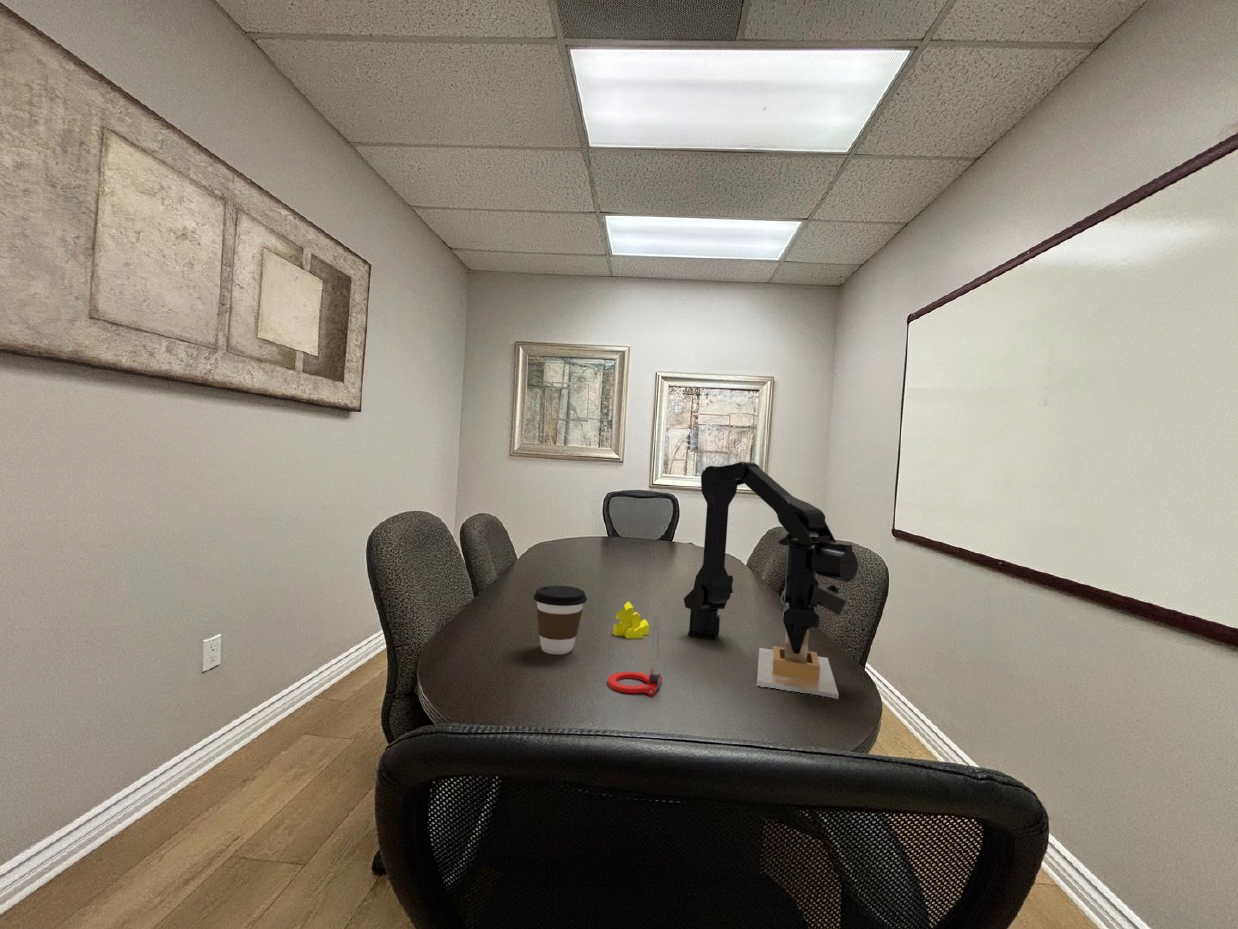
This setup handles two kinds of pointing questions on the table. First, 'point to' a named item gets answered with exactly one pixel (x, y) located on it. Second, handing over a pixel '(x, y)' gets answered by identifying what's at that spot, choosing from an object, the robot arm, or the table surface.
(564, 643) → the coffee cup
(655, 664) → the tow hook
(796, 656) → the cream upright block
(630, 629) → the yellow blocky cluster
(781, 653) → the wooden socket on plate
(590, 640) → the table surface
